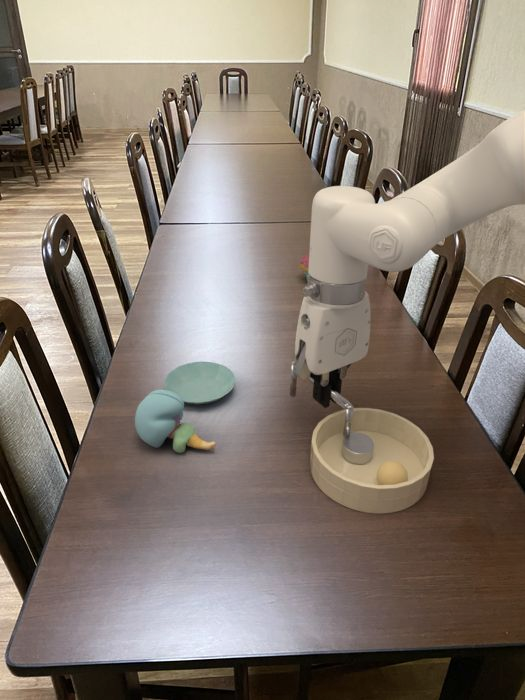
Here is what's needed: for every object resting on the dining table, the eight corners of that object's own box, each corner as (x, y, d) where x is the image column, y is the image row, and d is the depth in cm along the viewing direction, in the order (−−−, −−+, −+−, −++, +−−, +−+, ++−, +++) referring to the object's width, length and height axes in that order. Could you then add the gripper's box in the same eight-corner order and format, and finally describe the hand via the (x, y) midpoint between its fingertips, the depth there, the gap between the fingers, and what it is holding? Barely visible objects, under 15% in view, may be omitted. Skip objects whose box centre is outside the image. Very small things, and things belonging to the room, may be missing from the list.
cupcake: (336, 289, 126) (341, 240, 120) (300, 289, 126) (303, 239, 120) (332, 274, 133) (336, 227, 127) (297, 274, 133) (300, 227, 127)
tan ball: (405, 500, 70) (415, 477, 68) (375, 495, 69) (384, 472, 67) (399, 479, 73) (408, 457, 71) (370, 474, 73) (379, 452, 71)
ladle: (379, 456, 76) (386, 417, 72) (355, 468, 74) (361, 429, 70) (301, 390, 89) (303, 354, 85) (280, 399, 87) (281, 362, 83)
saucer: (191, 422, 83) (190, 411, 82) (151, 389, 91) (150, 377, 90) (249, 394, 90) (249, 382, 89) (207, 364, 97) (207, 354, 96)
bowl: (453, 481, 73) (459, 456, 71) (365, 533, 65) (369, 507, 63) (370, 418, 85) (373, 395, 82) (287, 456, 77) (288, 432, 75)
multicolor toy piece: (206, 424, 70) (124, 400, 73) (204, 473, 75) (127, 449, 78) (226, 394, 76) (150, 372, 79) (223, 441, 81) (151, 419, 83)
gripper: (306, 312, 63) (299, 433, 73) (399, 283, 71) (382, 396, 80) (270, 289, 69) (268, 404, 78) (360, 264, 76) (348, 373, 86)
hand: (326, 399), depth 79 cm, fingers closed on ladle, 1 cm apart
